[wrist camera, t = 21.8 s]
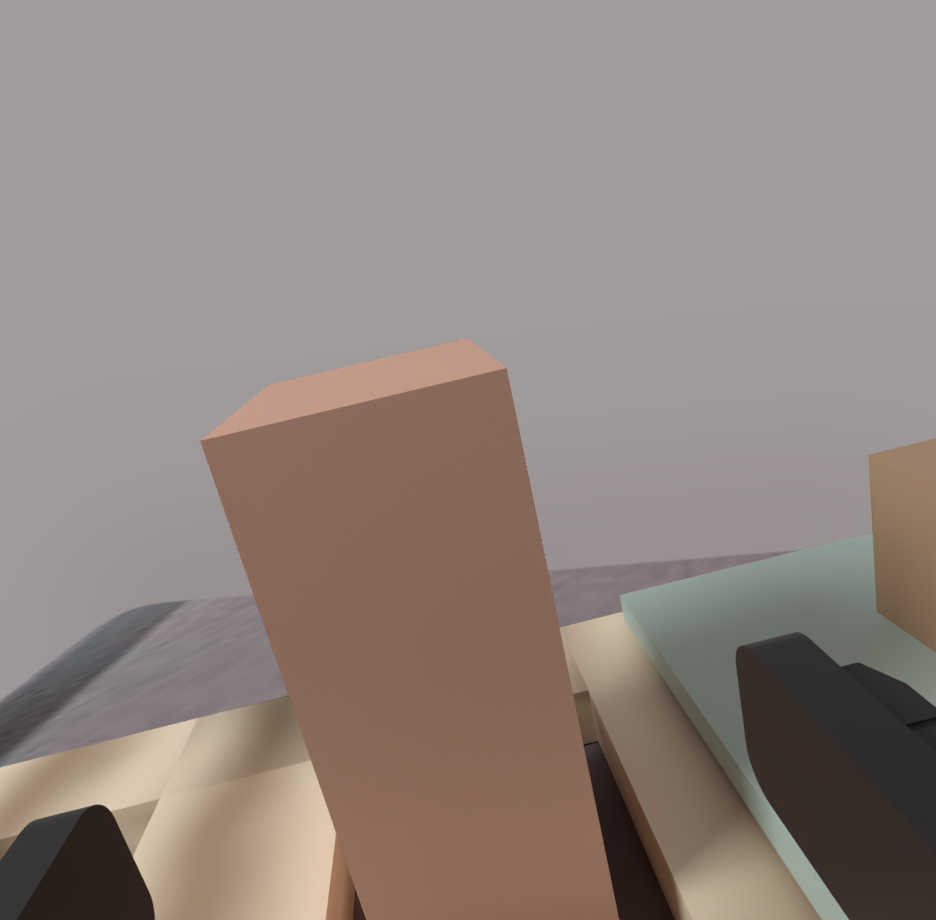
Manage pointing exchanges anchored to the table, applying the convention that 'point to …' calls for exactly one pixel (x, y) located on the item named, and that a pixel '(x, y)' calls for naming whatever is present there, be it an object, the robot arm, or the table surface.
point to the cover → (804, 625)
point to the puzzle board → (314, 837)
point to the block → (419, 634)
